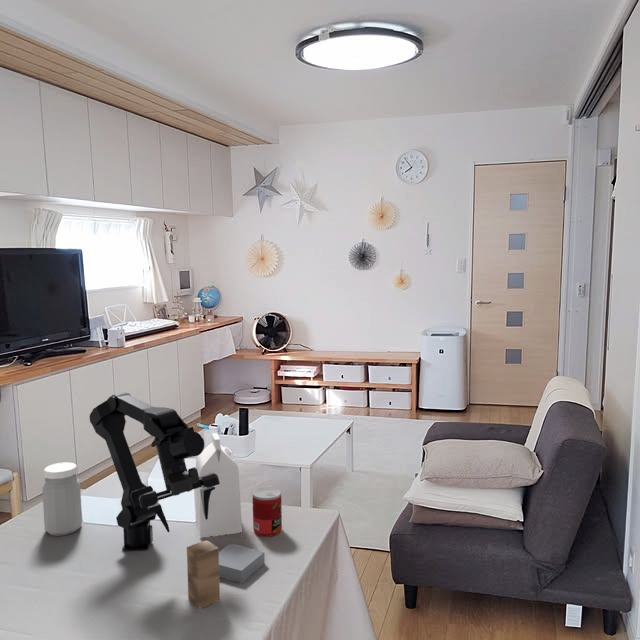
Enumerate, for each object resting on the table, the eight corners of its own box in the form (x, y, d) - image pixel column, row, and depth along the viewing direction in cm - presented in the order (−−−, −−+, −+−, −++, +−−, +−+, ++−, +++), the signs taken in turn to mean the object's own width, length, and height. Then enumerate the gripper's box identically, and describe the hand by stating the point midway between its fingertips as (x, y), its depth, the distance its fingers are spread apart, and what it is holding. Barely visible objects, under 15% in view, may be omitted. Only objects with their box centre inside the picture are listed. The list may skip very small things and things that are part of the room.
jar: (79, 519, 177) (76, 458, 175) (85, 531, 169) (82, 468, 167) (42, 527, 172) (38, 465, 170) (47, 540, 163) (43, 475, 162)
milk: (195, 520, 175) (192, 432, 173) (235, 514, 179) (232, 428, 176) (199, 538, 164) (197, 444, 161) (242, 532, 167) (240, 440, 165)
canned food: (277, 538, 164) (277, 499, 163) (249, 535, 165) (248, 496, 164) (285, 526, 171) (284, 488, 170) (257, 523, 173) (257, 486, 172)
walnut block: (188, 598, 135) (186, 547, 134) (208, 590, 138) (206, 540, 137) (199, 608, 131) (198, 555, 130) (219, 599, 135) (218, 547, 133)
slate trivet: (206, 573, 146) (206, 561, 146) (231, 555, 155) (230, 543, 154) (241, 583, 141) (241, 570, 141) (264, 563, 150) (264, 552, 150)
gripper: (135, 474, 137) (151, 543, 135) (215, 450, 144) (231, 516, 142) (132, 472, 147) (147, 537, 145) (207, 450, 154) (223, 511, 152)
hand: (187, 525), depth 146 cm, fingers open, 9 cm apart
